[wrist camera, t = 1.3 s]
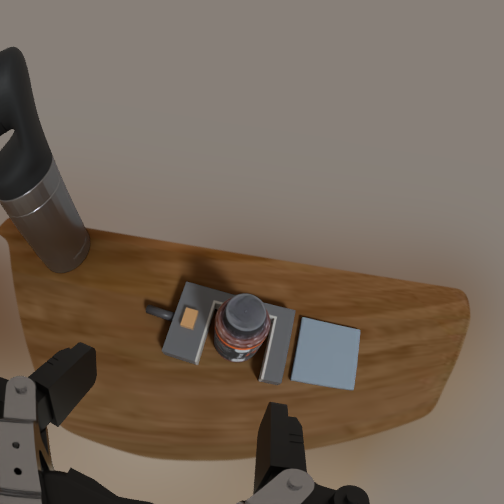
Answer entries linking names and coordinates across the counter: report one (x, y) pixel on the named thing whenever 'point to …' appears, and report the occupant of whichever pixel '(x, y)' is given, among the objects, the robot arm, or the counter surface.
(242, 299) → the supplement bottle
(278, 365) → the grey c-shaped bracket
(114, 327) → the counter surface
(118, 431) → the counter surface
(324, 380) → the coaster
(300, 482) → the robot arm
